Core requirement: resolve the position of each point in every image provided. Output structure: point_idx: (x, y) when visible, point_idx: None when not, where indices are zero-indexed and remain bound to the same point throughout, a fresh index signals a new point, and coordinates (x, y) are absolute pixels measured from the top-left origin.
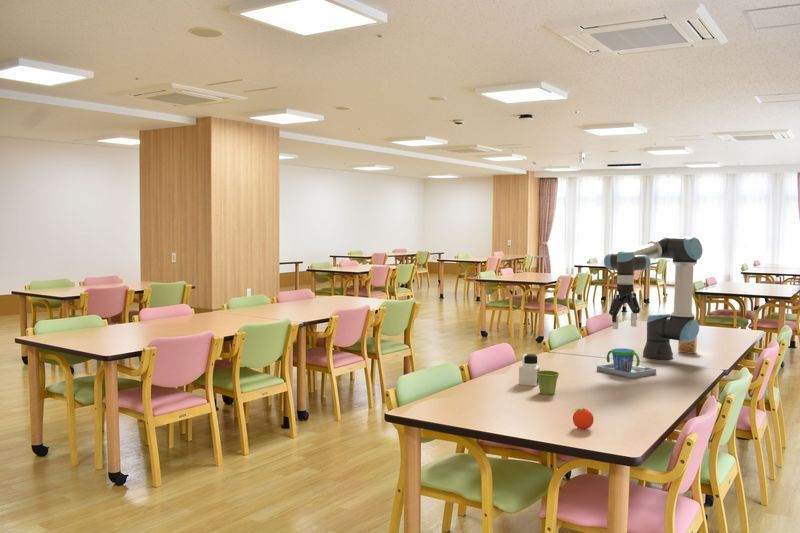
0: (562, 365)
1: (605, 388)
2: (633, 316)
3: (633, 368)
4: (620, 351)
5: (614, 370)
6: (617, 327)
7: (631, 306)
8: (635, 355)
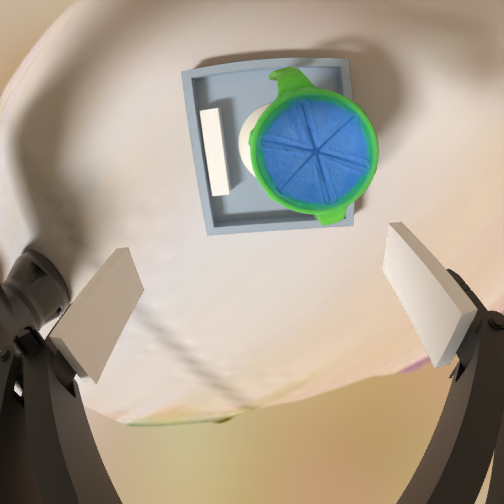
0: (361, 318)
1: (487, 54)
2: (93, 332)
3: (225, 151)
4: (324, 163)
5: None
6: (405, 230)
7: (78, 451)
8: (302, 72)
